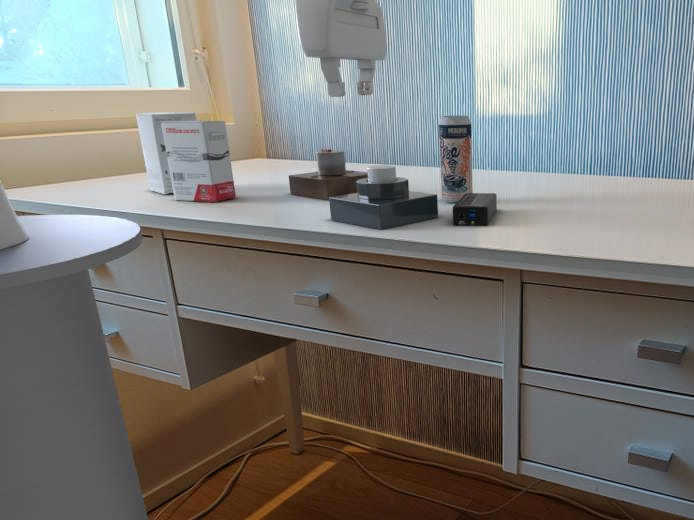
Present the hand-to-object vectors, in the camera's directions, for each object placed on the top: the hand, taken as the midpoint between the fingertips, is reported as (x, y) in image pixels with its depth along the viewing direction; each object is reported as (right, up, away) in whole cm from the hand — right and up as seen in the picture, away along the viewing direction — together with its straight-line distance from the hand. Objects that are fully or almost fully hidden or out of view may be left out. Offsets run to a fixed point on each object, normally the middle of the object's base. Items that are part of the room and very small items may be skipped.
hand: (351, 96), depth 94 cm
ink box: (-26, -11, +15) cm, 32 cm away
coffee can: (+14, -12, +9) cm, 21 cm away
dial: (-6, -6, +17) cm, 19 cm away
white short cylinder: (+5, -13, -5) cm, 15 cm away
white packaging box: (-34, -7, +24) cm, 43 cm away
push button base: (+5, -17, -3) cm, 18 cm away
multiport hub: (+17, -17, -3) cm, 25 cm away
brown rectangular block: (-6, -9, +19) cm, 21 cm away
